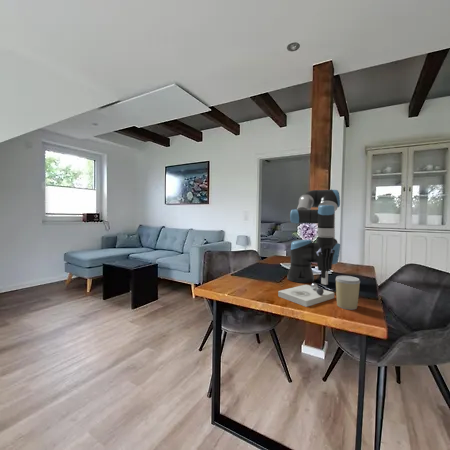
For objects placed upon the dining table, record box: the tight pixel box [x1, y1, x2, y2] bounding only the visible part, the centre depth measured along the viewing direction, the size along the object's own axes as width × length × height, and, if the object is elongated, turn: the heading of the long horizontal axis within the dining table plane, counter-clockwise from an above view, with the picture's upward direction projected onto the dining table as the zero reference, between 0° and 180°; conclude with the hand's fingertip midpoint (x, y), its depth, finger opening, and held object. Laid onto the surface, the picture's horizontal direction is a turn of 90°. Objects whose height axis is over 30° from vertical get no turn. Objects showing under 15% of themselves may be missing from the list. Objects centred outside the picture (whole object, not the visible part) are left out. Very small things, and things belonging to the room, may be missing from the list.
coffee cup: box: [335, 275, 361, 311], centre depth 107 cm, size 9×9×12 cm
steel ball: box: [310, 282, 319, 290], centre depth 122 cm, size 3×3×3 cm
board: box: [277, 284, 335, 308], centre depth 119 cm, size 20×16×2 cm
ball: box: [317, 287, 324, 295], centre depth 115 cm, size 3×3×3 cm
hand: (324, 284), depth 127 cm, fingers closed
